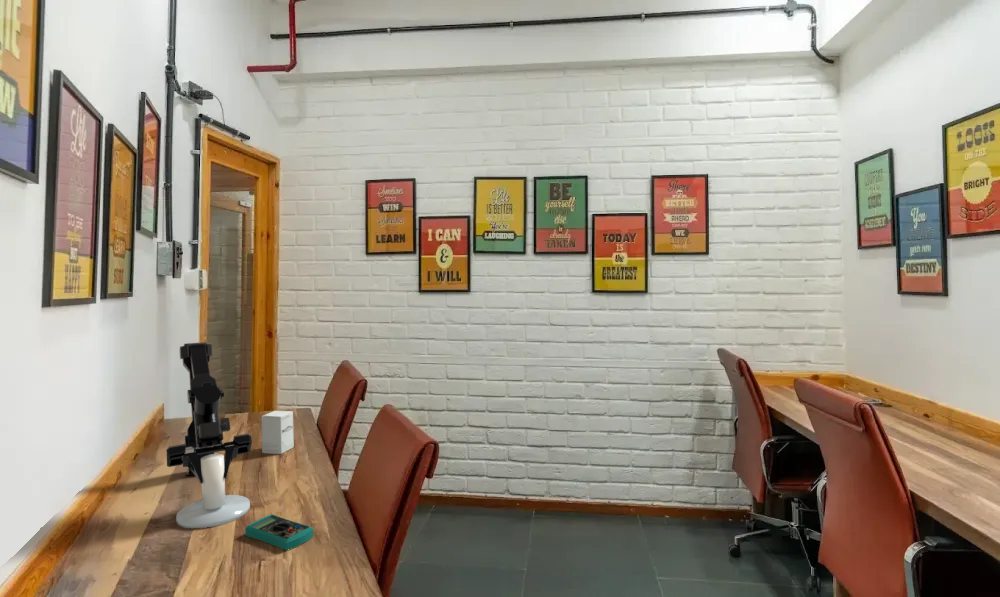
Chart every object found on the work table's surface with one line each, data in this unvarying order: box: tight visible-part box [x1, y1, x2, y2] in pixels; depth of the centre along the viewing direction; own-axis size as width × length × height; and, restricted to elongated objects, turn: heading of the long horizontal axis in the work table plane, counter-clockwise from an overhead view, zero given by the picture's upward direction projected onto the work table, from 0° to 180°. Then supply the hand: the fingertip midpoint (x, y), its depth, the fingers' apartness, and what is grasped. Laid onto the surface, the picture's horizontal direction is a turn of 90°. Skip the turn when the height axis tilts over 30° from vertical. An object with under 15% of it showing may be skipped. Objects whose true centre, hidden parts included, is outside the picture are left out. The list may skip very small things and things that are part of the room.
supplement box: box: [260, 410, 295, 455], centre depth 177 cm, size 7×7×13 cm
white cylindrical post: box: [201, 453, 226, 509], centre depth 130 cm, size 5×5×12 cm
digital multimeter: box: [244, 514, 314, 551], centre depth 118 cm, size 7×15×3 cm, turn 61°
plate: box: [175, 494, 251, 530], centre depth 131 cm, size 16×16×1 cm
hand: (213, 480), depth 129 cm, fingers closed on white cylindrical post, 5 cm apart
